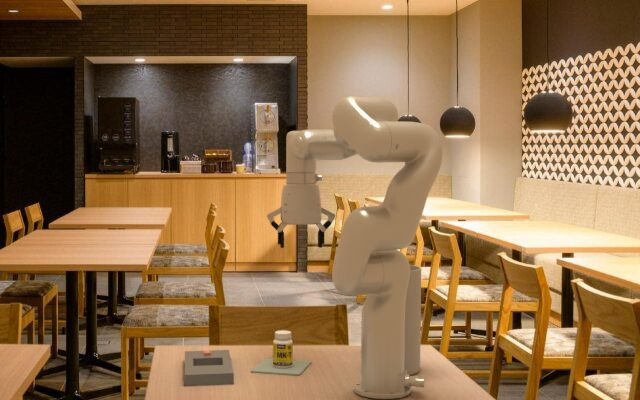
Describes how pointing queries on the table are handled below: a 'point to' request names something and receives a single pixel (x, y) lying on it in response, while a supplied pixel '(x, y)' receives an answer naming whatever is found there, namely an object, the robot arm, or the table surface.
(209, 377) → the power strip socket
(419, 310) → the cylinder vase
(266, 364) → the rubber mat
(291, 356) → the supplement bottle
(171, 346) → the table surface
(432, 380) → the table surface
